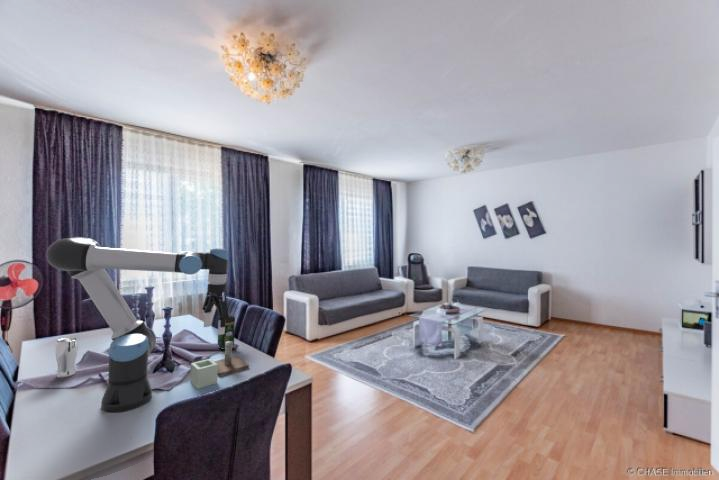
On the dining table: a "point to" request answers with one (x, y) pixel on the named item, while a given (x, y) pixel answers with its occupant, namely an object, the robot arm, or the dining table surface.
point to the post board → (231, 367)
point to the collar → (203, 373)
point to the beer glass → (66, 356)
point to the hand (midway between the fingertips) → (213, 330)
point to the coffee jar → (227, 332)
